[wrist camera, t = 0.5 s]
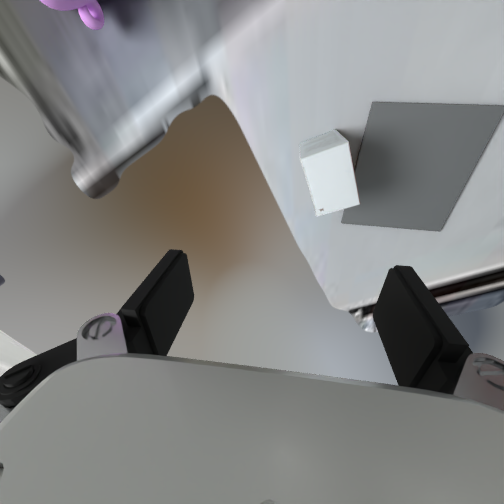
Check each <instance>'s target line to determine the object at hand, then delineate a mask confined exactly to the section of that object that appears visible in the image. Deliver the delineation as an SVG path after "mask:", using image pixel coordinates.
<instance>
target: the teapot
mask: <svg viewBox="0 0 504 504" xmlns="http://www.w3.org/2000/svg"><path fill="white" fill-rule="evenodd" d="M40 1H41V2H42V3H44V4H45V5H47V6H48V7H50V8H53V9H56V10H62V11H67V10H73V9H78V12H79V15H80V17H81V19H82V20H83V22H84V23H85V24H86V25H87V26H88V27H89V28H91V29H93V30H99V29H101V28H102V27H103V25H104V15H103V11H102V9H101V7H100V5H99V3H98V2H97V1H96V0H40Z"/></svg>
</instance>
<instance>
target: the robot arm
mask: <svg viewBox="0 0 504 504" xmlns="http://www.w3.org/2000/svg"><path fill="white" fill-rule="evenodd" d="M193 300H194V292H193V287H192V281H191V276H190V270H189V265H188V259H187V255H186V254H185V253H183V251H182V250H172V249H171V250H169V251H168V252H167V253H166V254H165V256H164V257H163V258H162V259H161V260H160V262H159V263H158V264H157V265H156V266H155V268H154V269H153V270H152V271H151V273H150V274H149V275H148V276H147V277H146V279H145V280H144V281H143V282H142V283H141V285H140V286H139V287H138V288H137V290H136V291H135V292H134V293H133V294H132V296H131V297H130V298H129V299H128V300H127V302H126V303H125V304H124V305H123V306H122V308H121V309H120V310H119V312H118V313H117V314H113V313H104V314H100V315H97V316H95V317H93V318H91V319H89V320H88V321H86V322H85V323H84V324H83V325H82V326H81V327H80V329H79V331H78V333H77V338H76V339H74V340H72V341H69V342H67V343H64V344H62V345H60V346H57V347H55V348H53V349H51V350H48V351H46V352H44V353H41V354H39V355H37V356H34V357H32V358H30V359H28V360H25V361H23V362H21V363H19V364H17V365H15V366H13V367H12V368H11V369H9V370H8V371H6V372H5V373H4V374H3V375H2V376H1V377H0V504H504V361H502V360H501V359H498V358H496V357H494V356H491V355H488V354H483V353H473V352H472V351H471V349H470V348H469V347H468V346H469V345H468V343H467V342H466V341H465V339H464V338H463V336H462V335H461V334H460V332H459V331H458V330H457V328H456V327H455V325H454V324H453V323H452V321H451V320H450V319H449V317H448V316H447V314H446V313H445V312H444V310H443V309H442V308H441V306H440V305H439V304H438V302H437V301H436V299H435V298H434V297H433V295H432V294H431V293H430V291H429V290H428V288H427V287H426V286H425V284H424V283H423V282H422V280H421V279H420V277H419V276H418V275H417V273H416V272H415V271H414V269H413V268H412V267H410V266H399V265H396V266H394V268H391V269H389V271H388V274H387V277H386V279H385V282H384V285H383V287H382V290H381V293H380V295H379V298H378V301H377V303H376V306H375V309H374V312H373V319H374V322H375V324H376V327H377V330H378V332H379V335H380V338H381V340H382V343H383V345H384V348H385V351H386V353H387V356H388V359H389V361H390V364H391V366H392V369H393V372H394V374H395V377H396V380H397V382H398V385H399V386H396V385H390V384H383V383H376V382H368V381H361V380H353V379H346V378H338V377H331V376H323V375H316V374H308V373H300V372H292V371H284V370H277V369H268V368H261V367H253V366H245V365H237V364H228V363H221V362H212V361H204V360H196V359H188V358H179V357H170V356H167V354H168V351H169V350H170V347H171V345H172V343H173V341H174V339H175V337H176V335H177V333H178V331H179V329H180V327H181V325H182V323H183V321H184V319H185V317H186V315H187V313H188V311H189V309H190V307H191V305H192V303H193Z"/></svg>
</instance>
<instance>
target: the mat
mask: <svg viewBox="0 0 504 504" xmlns="http://www.w3.org/2000/svg"><path fill="white" fill-rule="evenodd" d="M503 113H504V106H500V105H464V104H428V103H392V102H372V105H371V109H370V113H369V117H368V121H367V125H366V128H365V132H364V136H363V140H362V144H361V148H360V151H359V155H358V159H357V163H356V167H355V171H354V172H355V178H356V183H357V189H358V194H359V199H360V204H359V205H356V206H353V207H349V208H346V209H344V213H343V217H342V221H341V222H342V223H344V224H356V225H368V226H380V227H392V228H404V229H416V230H428V231H440V230H441V229H442V227H443V225H444V223H445V221H446V219H447V217H448V216H449V214H450V212H451V210H452V208H453V206H454V204H455V203H456V201H457V199H458V197H459V195H460V193H461V191H462V189H463V188H464V186H465V184H466V182H467V180H468V178H469V176H470V175H471V173H472V171H473V169H474V167H475V165H476V163H477V162H478V160H479V158H480V156H481V154H482V152H483V150H484V149H485V147H486V145H487V143H488V141H489V139H490V137H491V135H492V134H493V132H494V130H495V128H496V126H497V124H498V122H499V121H500V119H501V117H502V115H503Z"/></svg>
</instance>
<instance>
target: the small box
mask: <svg viewBox="0 0 504 504" xmlns="http://www.w3.org/2000/svg"><path fill="white" fill-rule="evenodd" d="M299 147H300V162H301V164H302V167H303V170H304V174H305V177H306V181H307V184H308V188H309V191H310V195H311V198H312V202H313V206H314V210H315V214H316V216H321V215H324V214H328V213H331V212H335V211H338V210H342V209H346V208H349V207H353V206H356V205H359V204H360V199H359V194H358V189H357V183H356V178H355V172H354V167H353V161H352V156H351V150H350V145H349V141H348V140H346V139H345V138H344V137H343V136H342V135H341V134H340V133H339V132H338V131H337V130H336V129H335V130H332V131H329V132H327V133H324V134H322V135H319V136H317V137H314V138H311V139H309V140H306V141H304V142H301V143H300V144H299Z"/></svg>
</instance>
